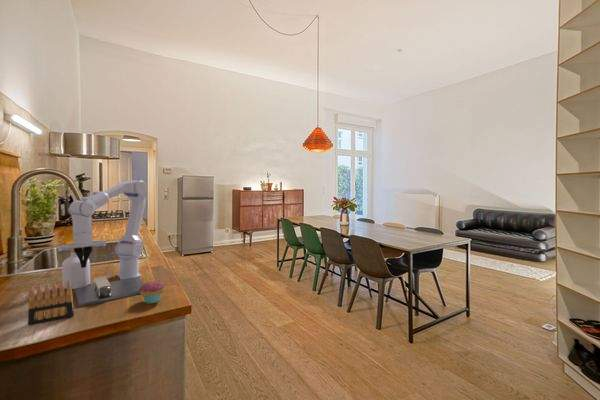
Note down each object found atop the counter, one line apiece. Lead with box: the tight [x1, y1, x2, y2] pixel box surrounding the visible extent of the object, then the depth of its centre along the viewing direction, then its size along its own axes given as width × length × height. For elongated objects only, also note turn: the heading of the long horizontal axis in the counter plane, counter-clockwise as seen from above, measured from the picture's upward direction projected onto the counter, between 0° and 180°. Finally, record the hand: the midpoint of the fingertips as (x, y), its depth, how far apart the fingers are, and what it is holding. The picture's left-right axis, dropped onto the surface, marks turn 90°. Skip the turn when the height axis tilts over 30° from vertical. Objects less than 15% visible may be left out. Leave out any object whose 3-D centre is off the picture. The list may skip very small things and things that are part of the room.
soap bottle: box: [61, 227, 91, 290], centre depth 117 cm, size 9×9×25 cm
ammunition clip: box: [27, 280, 75, 327], centre depth 89 cm, size 11×2×12 cm, turn 125°
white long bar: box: [93, 275, 112, 298], centre depth 110 cm, size 18×4×3 cm, turn 41°
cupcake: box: [139, 269, 166, 304], centre depth 104 cm, size 9×8×12 cm
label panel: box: [74, 277, 145, 308], centre depth 112 cm, size 18×22×2 cm
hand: (83, 267), depth 109 cm, fingers closed
